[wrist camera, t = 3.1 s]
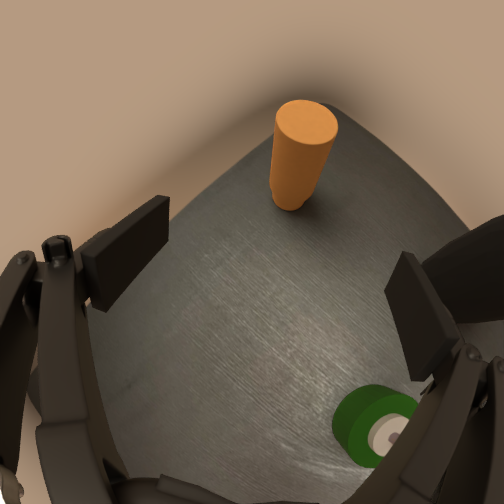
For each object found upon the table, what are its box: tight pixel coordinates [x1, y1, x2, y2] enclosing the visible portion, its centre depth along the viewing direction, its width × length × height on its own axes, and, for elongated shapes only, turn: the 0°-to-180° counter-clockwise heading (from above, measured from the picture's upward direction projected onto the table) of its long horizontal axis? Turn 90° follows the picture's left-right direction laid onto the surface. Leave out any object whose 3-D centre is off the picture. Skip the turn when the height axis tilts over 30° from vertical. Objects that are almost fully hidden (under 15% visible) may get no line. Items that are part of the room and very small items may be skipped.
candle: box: [332, 385, 418, 468], centre depth 19 cm, size 8×8×10 cm
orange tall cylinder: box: [269, 100, 338, 211], centre depth 25 cm, size 5×5×13 cm
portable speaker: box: [421, 215, 504, 323], centre depth 19 cm, size 9×9×20 cm
